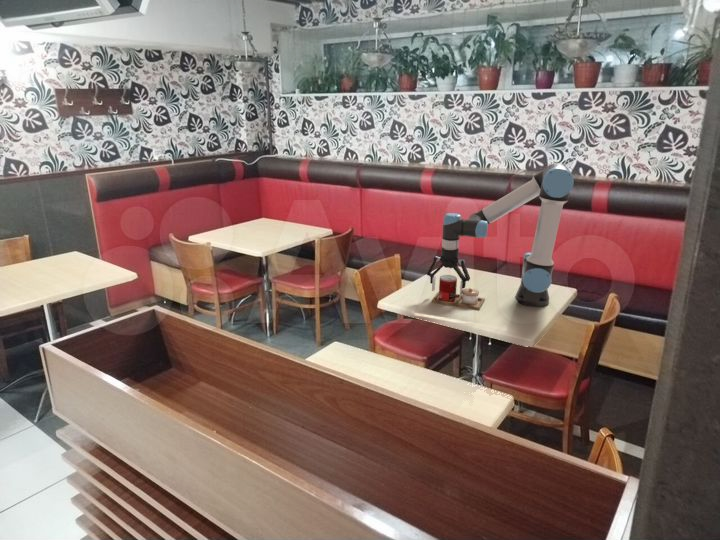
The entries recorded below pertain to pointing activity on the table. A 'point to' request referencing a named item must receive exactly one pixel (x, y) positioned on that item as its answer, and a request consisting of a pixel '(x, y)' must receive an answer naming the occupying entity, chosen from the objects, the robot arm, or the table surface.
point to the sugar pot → (470, 296)
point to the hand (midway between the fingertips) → (447, 292)
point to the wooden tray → (459, 302)
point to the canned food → (447, 288)
